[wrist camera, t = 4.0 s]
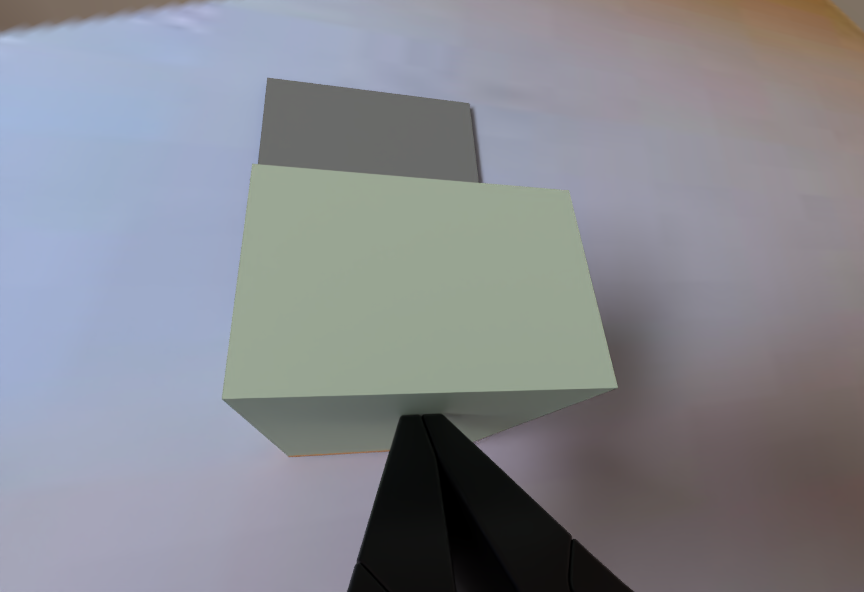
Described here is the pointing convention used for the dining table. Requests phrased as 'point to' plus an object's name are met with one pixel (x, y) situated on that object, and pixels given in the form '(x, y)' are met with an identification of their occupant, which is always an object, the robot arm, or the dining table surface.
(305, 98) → the mat
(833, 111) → the dining table surface
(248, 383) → the block
